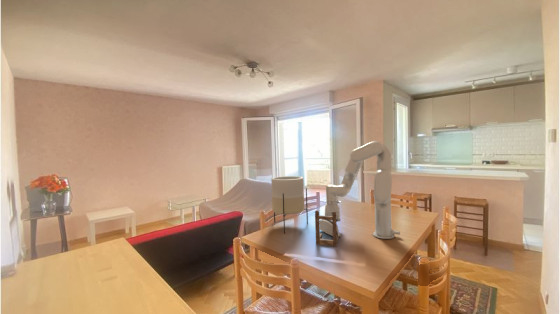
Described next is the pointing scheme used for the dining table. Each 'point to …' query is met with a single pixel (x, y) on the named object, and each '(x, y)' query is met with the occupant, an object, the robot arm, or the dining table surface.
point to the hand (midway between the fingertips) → (332, 228)
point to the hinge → (328, 227)
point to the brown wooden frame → (319, 235)
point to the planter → (288, 196)
